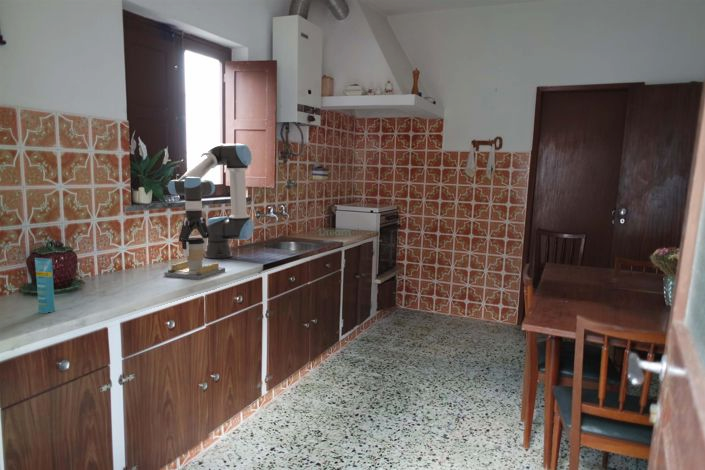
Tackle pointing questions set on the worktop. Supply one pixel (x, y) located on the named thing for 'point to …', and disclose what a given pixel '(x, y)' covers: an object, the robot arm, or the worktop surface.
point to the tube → (45, 285)
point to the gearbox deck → (193, 271)
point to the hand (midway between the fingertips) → (195, 253)
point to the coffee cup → (195, 253)
